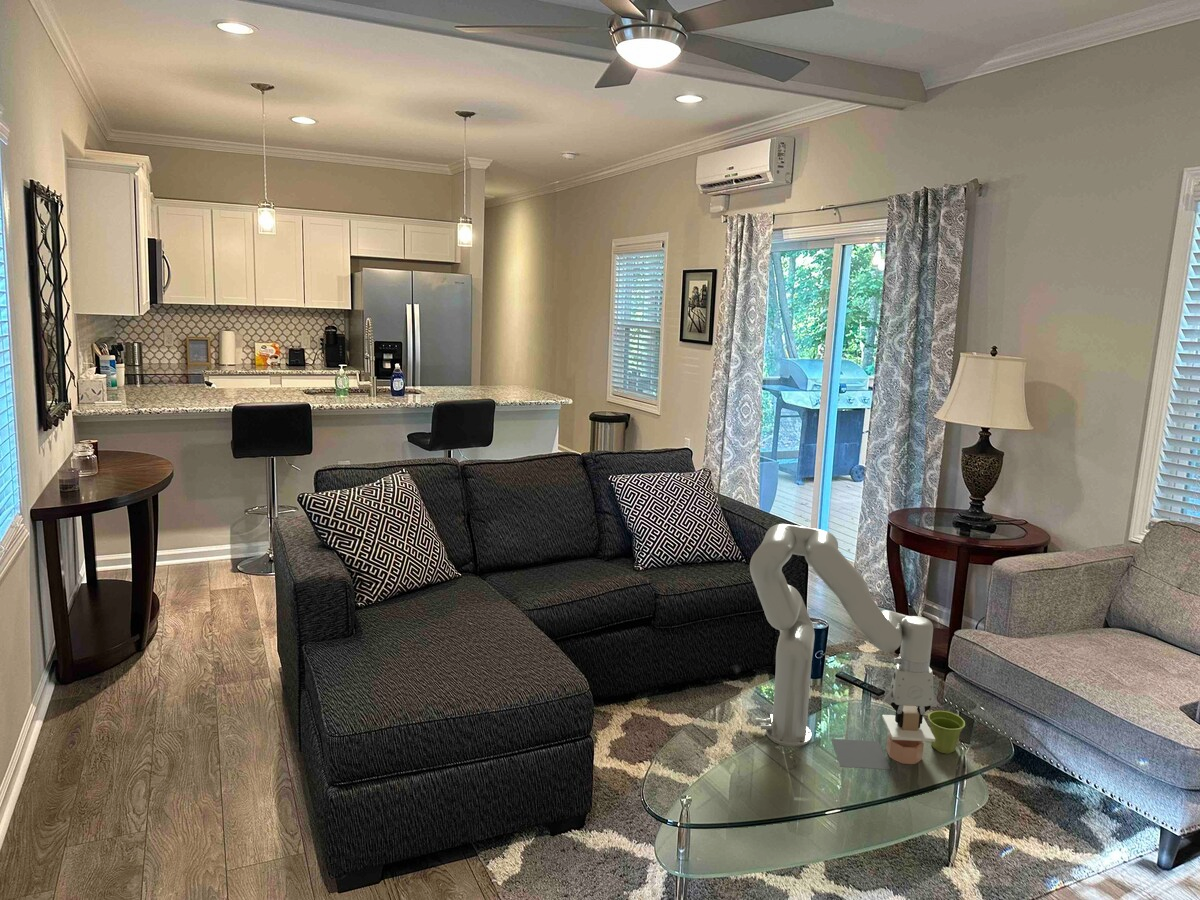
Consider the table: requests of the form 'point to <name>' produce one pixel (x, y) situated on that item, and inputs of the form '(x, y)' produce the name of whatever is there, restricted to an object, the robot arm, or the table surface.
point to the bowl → (905, 750)
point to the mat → (860, 754)
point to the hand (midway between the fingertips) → (908, 724)
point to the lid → (908, 726)
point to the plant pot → (945, 730)
